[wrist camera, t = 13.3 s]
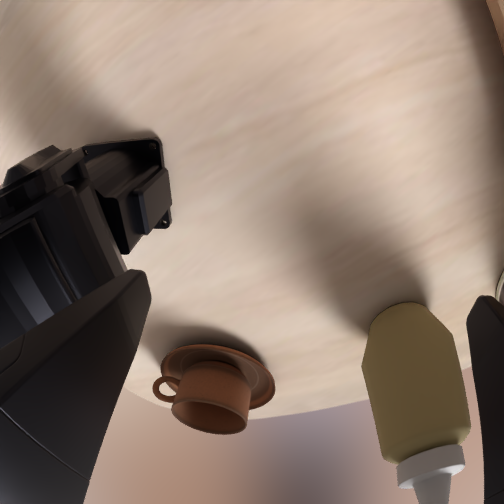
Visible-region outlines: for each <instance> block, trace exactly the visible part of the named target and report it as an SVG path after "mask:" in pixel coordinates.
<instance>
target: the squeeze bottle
mask: <svg viewBox="0 0 504 504" xmlns="http://www.w3.org/2000/svg"><path fill="white" fill-rule="evenodd" d="M361 367H362V371H363V375H364V379H365V383H366V387H367V391H368V395H369V399H370V403H371V407H372V411H373V416H374V420H375V425H376V429H377V434H378V439H379V443H380V448H381V453H382V456H383V458H384V459H385V460H386V461H388V462H390V463H394V464H398V466H397V480H398V486H399V488H403V489H408V488H414V490H415V493H416V496H417V499H418V502H419V504H448V501H449V494H450V485H451V476H453V475H455V474H457V473H458V472H460V471H461V470H462V469H463V468H464V466H465V460H464V455H463V449H462V446H460V444H461V443H462V442H463V441H464V440H465V438H466V437H467V435H468V434H469V432H470V429H471V422H470V415H469V409H468V403H467V397H466V392H465V386H464V381H463V377H462V372H461V367H460V363H459V359H458V355H457V351H456V347H455V343H454V339H453V335H452V334H451V332H450V331H449V330H448V329H447V328H446V327H445V326H444V325H443V324H442V323H441V322H440V321H439V320H438V319H437V318H436V317H435V316H434V315H433V314H432V313H431V312H430V311H429V310H428V309H427V308H426V307H425V306H424V305H421V304H417V303H414V302H410V303H400V304H397V305H395V306H392V307H389V308H387V309H386V310H385V311H383V312H382V313H380V314H379V315H378V316H377V317H376V318H375V320H374V321H373V322H372V324H371V326H370V331H369V335H368V340H367V344H366V349H365V353H364V357H363V362H362V366H361Z"/></svg>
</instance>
